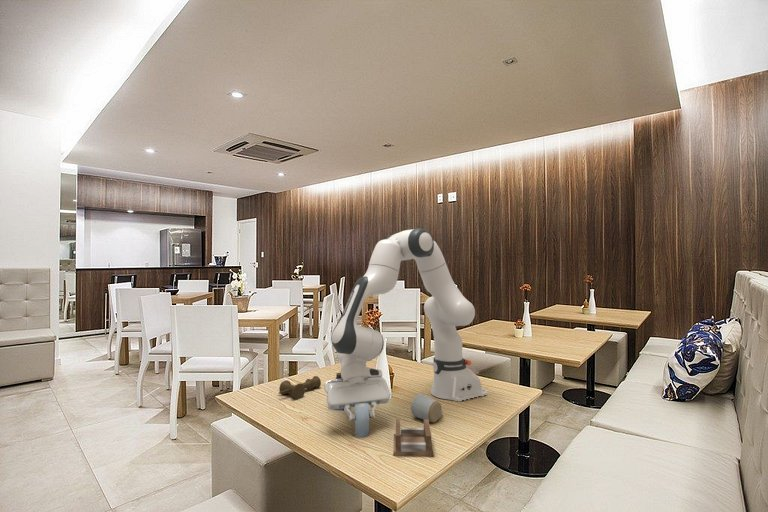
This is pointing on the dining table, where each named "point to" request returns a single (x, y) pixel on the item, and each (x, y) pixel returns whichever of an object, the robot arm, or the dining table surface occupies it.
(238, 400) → the dining table surface
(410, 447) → the holder
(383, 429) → the dining table surface
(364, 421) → the paper roll
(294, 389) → the kendama
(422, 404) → the ceramic mug
